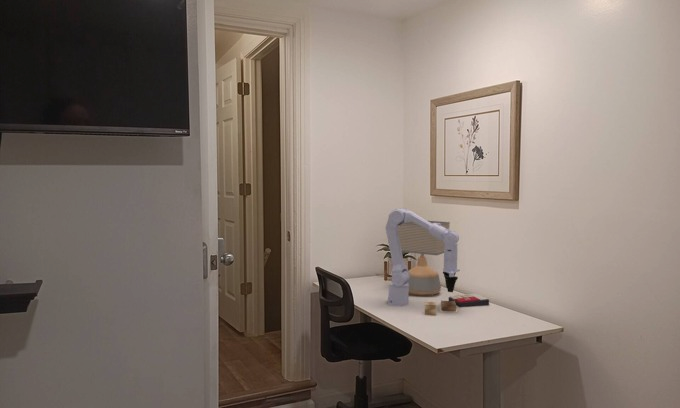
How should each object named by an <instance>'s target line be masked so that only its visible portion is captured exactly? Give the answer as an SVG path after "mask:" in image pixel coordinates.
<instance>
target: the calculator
mask: <svg viewBox="0 0 680 408" xmlns="http://www.w3.org/2000/svg"><path fill="white" fill-rule="evenodd" d="M448 301H455V303H456V307H458V308H468V307H469V308H471V307H485V306H486V307H487V306H490V299H488V298H487V297H485V296H483V295H481V294H478V293H465V294H464V293H463V294H460V295H459V294H457V295H450V296H449V297H448Z"/></svg>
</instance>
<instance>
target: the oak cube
mask: <svg viewBox="0 0 680 408" xmlns="http://www.w3.org/2000/svg"><path fill="white" fill-rule="evenodd" d="M424 315H425V316H437V302H436V301H434V302H433V301H425V303H424Z"/></svg>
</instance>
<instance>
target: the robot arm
mask: <svg viewBox="0 0 680 408" xmlns="http://www.w3.org/2000/svg"><path fill="white" fill-rule="evenodd" d="M428 221H429V220H426V219H425V218H423V217H421V216H420V215H419V214H417V213H415V212H414V211H412V210H409V209H407V208H406V207H405V208H404V207H401V208H398V209H397V208H395V209H393V210H392V211H391V212H390V213H389V214H388V217H387V222H386V225H385V233H386V238H387V242H388V243H387V244H388V247H389V248H388V249H389V252H390V258H391V263H392V269H391V282H392V284H388V294H387V295H388V296H387V306H398V307H399V306H400V307H402V306H407V305H409V300H410V299H409V295H410V294H409V284H408V281H409V280H410V273H409V272H408V270H409V269H408V267H407V265H406V263H405V261H404V257H403V252H402V250H401V245H400V240H399V235H398V228H399V227H400V226H401V224H402V223H404V222H413V223H415V224H417V225H419V226H421V227H423V228H425V229H427V230H428V232H429V234H431V235H432V236H434V237H436V238H438V239H439V240H441V241H443V242H444V244H445V248H444V253H443V269H442V270H443V271H442V274H443V277H444V280H445V287H446V289H447V293H453V292H454V291H455V285H456V282H457V280H458V279H459V278H458V276H456V275H457V273H458V272H460V268H458V243H459V241H460V235H459V234H458V233H457V232H456V231H455V230H451V228H449V229H446V228H445V227H443V226H441V224H440V223H438V224H437V223H432V224H431V223H430V222H428Z"/></svg>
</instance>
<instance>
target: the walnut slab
mask: <svg viewBox="0 0 680 408" xmlns="http://www.w3.org/2000/svg"><path fill="white" fill-rule="evenodd" d="M440 307H441V310H442V311H441V312H444V311H455V312H454V313H457V312H456V309H457V306H456V303H455V301H449V300H440Z"/></svg>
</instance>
